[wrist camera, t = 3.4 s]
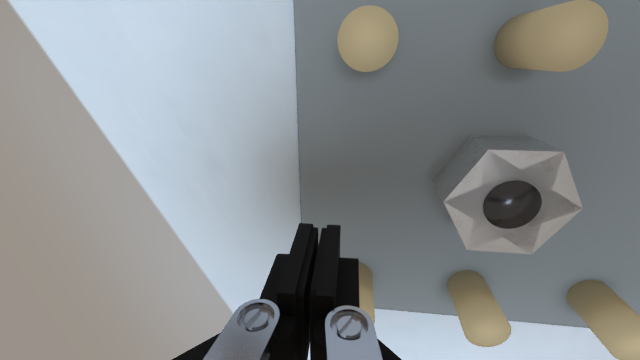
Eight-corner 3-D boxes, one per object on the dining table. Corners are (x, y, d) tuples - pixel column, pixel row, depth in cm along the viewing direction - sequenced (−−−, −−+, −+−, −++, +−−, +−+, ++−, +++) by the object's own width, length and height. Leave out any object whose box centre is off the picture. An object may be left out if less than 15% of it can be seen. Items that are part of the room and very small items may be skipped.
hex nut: (564, 137, 17) (604, 153, 14) (536, 228, 19) (566, 257, 17) (438, 134, 18) (453, 149, 15) (425, 221, 20) (436, 249, 17)
